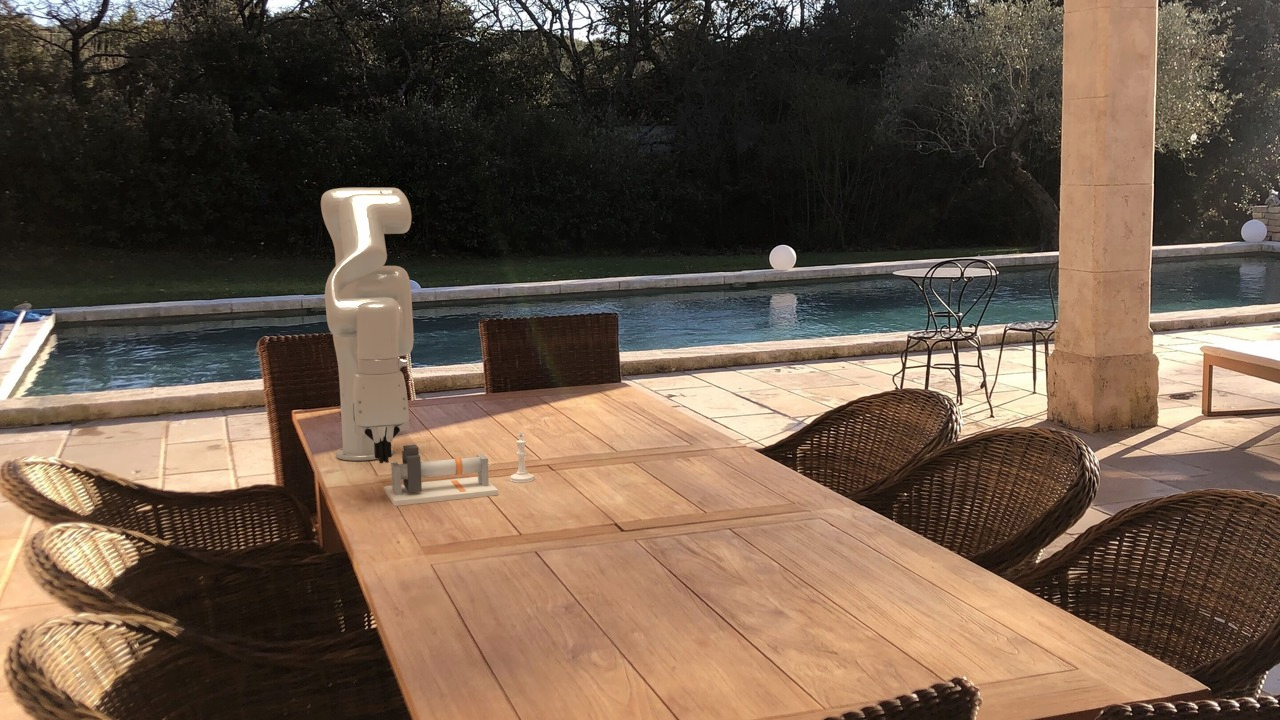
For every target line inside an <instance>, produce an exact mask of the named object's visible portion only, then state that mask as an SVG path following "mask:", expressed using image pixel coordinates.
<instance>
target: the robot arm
mask: <svg viewBox="0 0 1280 720" xmlns="http://www.w3.org/2000/svg"><path fill="white" fill-rule="evenodd" d="M320 208H321V210H320V211H321V214H322V218H323V222H324V225H325V227H326V229H327V231H328V234H329V235H330V238H331V240H332V243H333V247H334V253H335V255H334V256H335V258H334V259H335V267H334V268H333V269H332V270H331V272H330V274H329V275H328V277H327V281H326V283H325V289H324V302H325V312H326V321H327V326H328V330H329V331H330V333H331V334H332V339H333V344H334V345H333V346H334V350H335V355H336V360H337V366H338V367H337V369H338V378H339V379H338V380H339V381H338V382H339V397H340V398H339V399H340V414H341V415H340V416H341V417H340V419H341V436H342V437H341V439H342V447H340V448H339V449H337V450H336V451H335V457H336V458H337V459H339V460H343V461H351V462H352V461H353V462H354V461H355V462H359V461H360V462H361V461H371V460H372V461H373V460H377V461H378V462H379V464H383V463H386V464H387V463H389V458H392V455H393V453H394V448H393V447H392V442H393V439H394V438H395V437H396V436H397V435H398V434H399V433H401V432H403V431H406V430H410V429H411V423H410V419H409V418H410V412H409V410H410V409H409V401H408V394H407V393H408V392H407V386H406V385H407V384H406V380H405V376H404V373H403V372H402V371H401V369H402V368H403V367H407V366H408V361H407V359H406V358H405V359H403V358H400V357H403V356H407V355H409V354H410V353H412V351H413V348H414V341H415V339H414V322H413V321H414V320H413V304H412V302H413V301H412V299H413V298H412V287H411V281H410V276H409V274H408V272H407V271H406V270H405V268H403V267H401V266H399V265H398V266H397V265H385V264H386V262H387V259H388V253H387V248H386V247H387V246H386V240H385V235H391V234H393V235H394V234H395V235H396V234H399V235H400V234H401V235H402V234H405V233H408V231H409V230H410V228H411V225H412V210H411V205H410V202H409V200H408V198H407V196H406V195H405V193H404V192H403V191H402V190H401V189H399V188H398V187H397V188H396V187H339V188H332V189H329V190H327V191H325V192H324V193H323V194H322V195H321V200H320Z"/></svg>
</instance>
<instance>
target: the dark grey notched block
mask: <svg viewBox="0 0 1280 720" xmlns="http://www.w3.org/2000/svg"><path fill="white" fill-rule="evenodd" d="M402 449H403V450H401V455H402V456H401V458H402V460H401V461H402V463H401V464H407V471H408V479H403V480H402V484H403V485H404V486H405V487H406V489H407V490H408V492H409V493H411V492H421V491H422V484H421V482H422V478H421V462H422V461H421V456H420V453H419V447H418V445H417V444H405V445H403V448H402Z"/></svg>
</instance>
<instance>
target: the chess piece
mask: <svg viewBox="0 0 1280 720" xmlns="http://www.w3.org/2000/svg"><path fill="white" fill-rule="evenodd" d="M516 437H517V438H519V439H518V440H516V446H517V448H518V451H516V453H515V454H516V455H518V465H517V466H518V467H517V471H516V473H513V474H511V475H510V477H509V478H510V479H509V480H510V482H513V483H520V484H521V483H530V482H532V481H534V480H535V475H534V474H532V473H529V471H528V470H527V467H526V462H525V455H527V451H526V450H525V447H526V443H527V441H526V440H525V439H523V438H526V434H523V431H519V434H516Z"/></svg>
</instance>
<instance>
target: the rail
mask: <svg viewBox="0 0 1280 720" xmlns="http://www.w3.org/2000/svg"><path fill="white" fill-rule="evenodd" d="M390 467H391V469H390V470H391V485H384V492H385V494H386V495H387V497H388V499H389V500H390V502H391V503H392V505H393V506H394V507H399V506H406V505H417V504H426V503H434V502H435V503H436V502H445V501H453V500H464V499H472V498H473V499H474V498H481V497H483V498H484V497H492V496H498V495H499V490H498V488H496V486H494V484H492V482H491V481H489V458H488V457H487V456H486V455H485V454H477V455H476V456H474V457H473V456H472V457H463V458H462V457H456V458H455V457H454V458H453V459H452V458H450V459H442V460H430V461H421V479H423V478H432V477H441V476H443V477H444V476H452V475H455V476H460V475H463V474H464V475H465V474H472V473H473V474H474V473H477V476H472V477H462V478H454V479H453V478H451V479H442V480H434V481H433V480H431V481H423V482H422V481H421V484H422V491H421V492H411V493H409V492H408V490H407V489H406V487H405V486H404V485H403V483H402V481H403V479H408V471H407V464H403V463H398V461H395V462H391V463H390Z"/></svg>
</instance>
